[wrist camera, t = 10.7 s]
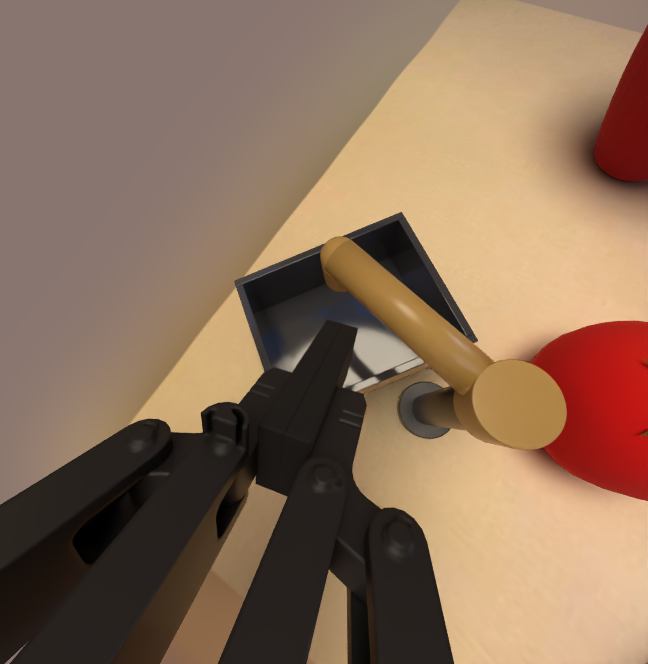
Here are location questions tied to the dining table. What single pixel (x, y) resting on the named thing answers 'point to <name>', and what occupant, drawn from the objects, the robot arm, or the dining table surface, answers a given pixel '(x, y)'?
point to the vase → (627, 122)
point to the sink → (344, 306)
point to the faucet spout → (453, 356)
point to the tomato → (603, 404)
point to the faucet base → (428, 410)
